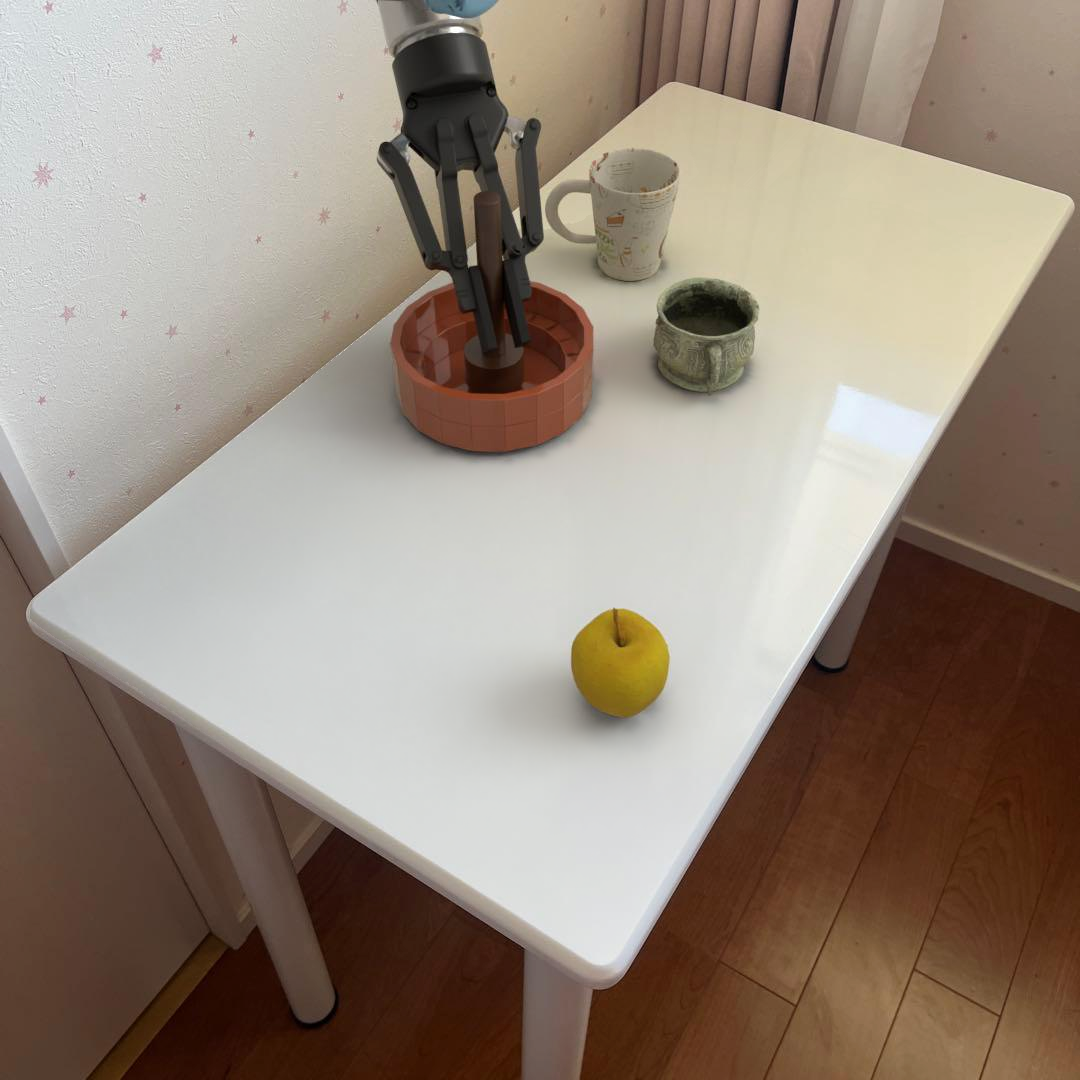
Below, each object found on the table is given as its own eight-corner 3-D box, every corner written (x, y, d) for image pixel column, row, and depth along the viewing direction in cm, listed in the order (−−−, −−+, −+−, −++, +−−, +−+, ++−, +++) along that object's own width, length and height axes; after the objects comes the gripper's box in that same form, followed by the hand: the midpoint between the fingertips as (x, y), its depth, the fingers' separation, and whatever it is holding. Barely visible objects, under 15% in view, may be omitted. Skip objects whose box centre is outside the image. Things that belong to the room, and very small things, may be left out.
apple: (600, 646, 76) (604, 569, 71) (681, 687, 74) (693, 612, 68) (550, 710, 73) (550, 636, 67) (634, 756, 70) (642, 683, 65)
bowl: (387, 455, 90) (379, 398, 85) (409, 331, 101) (403, 275, 97) (591, 458, 89) (594, 401, 85) (590, 334, 101) (592, 278, 96)
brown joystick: (463, 396, 92) (450, 215, 80) (467, 359, 96) (455, 179, 83) (523, 397, 92) (519, 215, 80) (525, 360, 96) (521, 180, 83)
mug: (667, 292, 105) (677, 196, 98) (537, 280, 106) (537, 186, 99) (674, 244, 111) (683, 150, 103) (550, 234, 112) (551, 141, 105)
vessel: (643, 326, 101) (648, 267, 97) (738, 322, 102) (747, 264, 97) (659, 411, 93) (665, 351, 89) (763, 407, 94) (774, 347, 89)
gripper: (520, 56, 91) (583, 337, 92) (339, 82, 88) (408, 373, 89) (540, 14, 84) (609, 321, 85) (344, 42, 80) (419, 359, 82)
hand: (506, 347), depth 87 cm, fingers closed on brown joystick, 2 cm apart
